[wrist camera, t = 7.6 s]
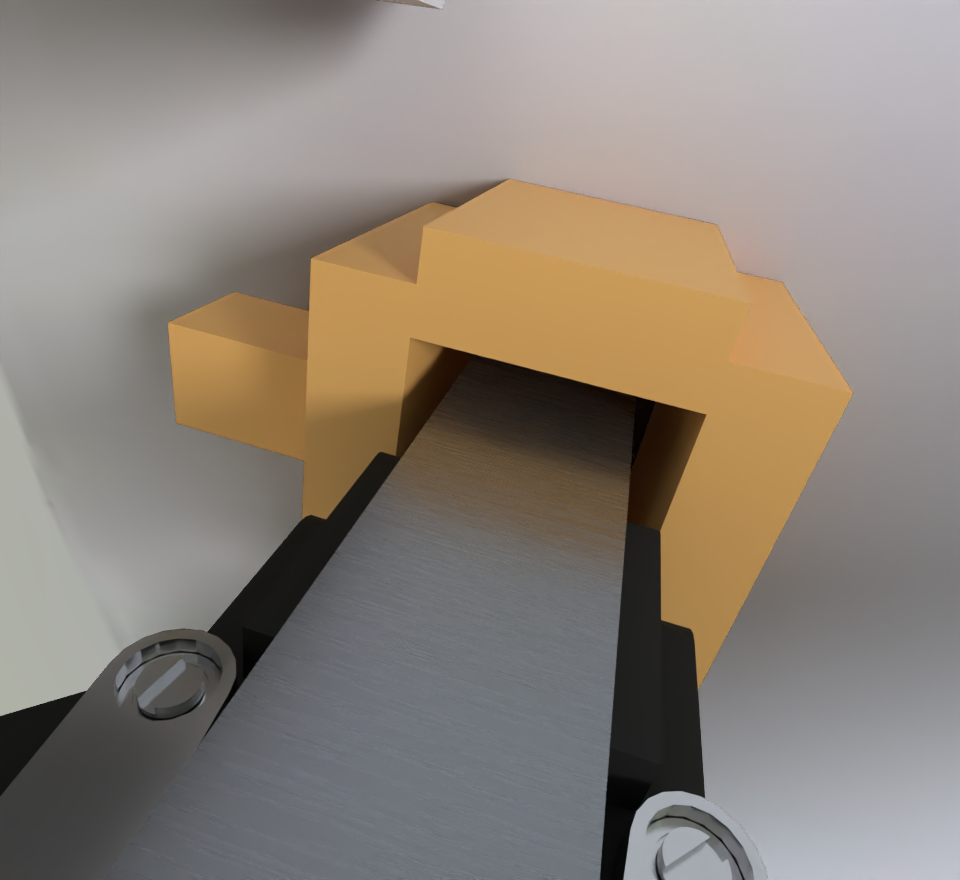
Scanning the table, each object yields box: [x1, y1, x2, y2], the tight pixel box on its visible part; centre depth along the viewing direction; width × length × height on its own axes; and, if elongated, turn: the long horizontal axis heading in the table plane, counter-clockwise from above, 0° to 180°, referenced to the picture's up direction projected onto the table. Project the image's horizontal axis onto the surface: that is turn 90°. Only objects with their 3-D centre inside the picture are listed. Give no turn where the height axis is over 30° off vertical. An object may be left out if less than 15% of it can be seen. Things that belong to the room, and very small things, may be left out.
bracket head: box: [168, 179, 853, 690], centre depth 15 cm, size 12×14×6 cm
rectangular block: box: [105, 354, 636, 880], centre depth 9 cm, size 3×4×10 cm
